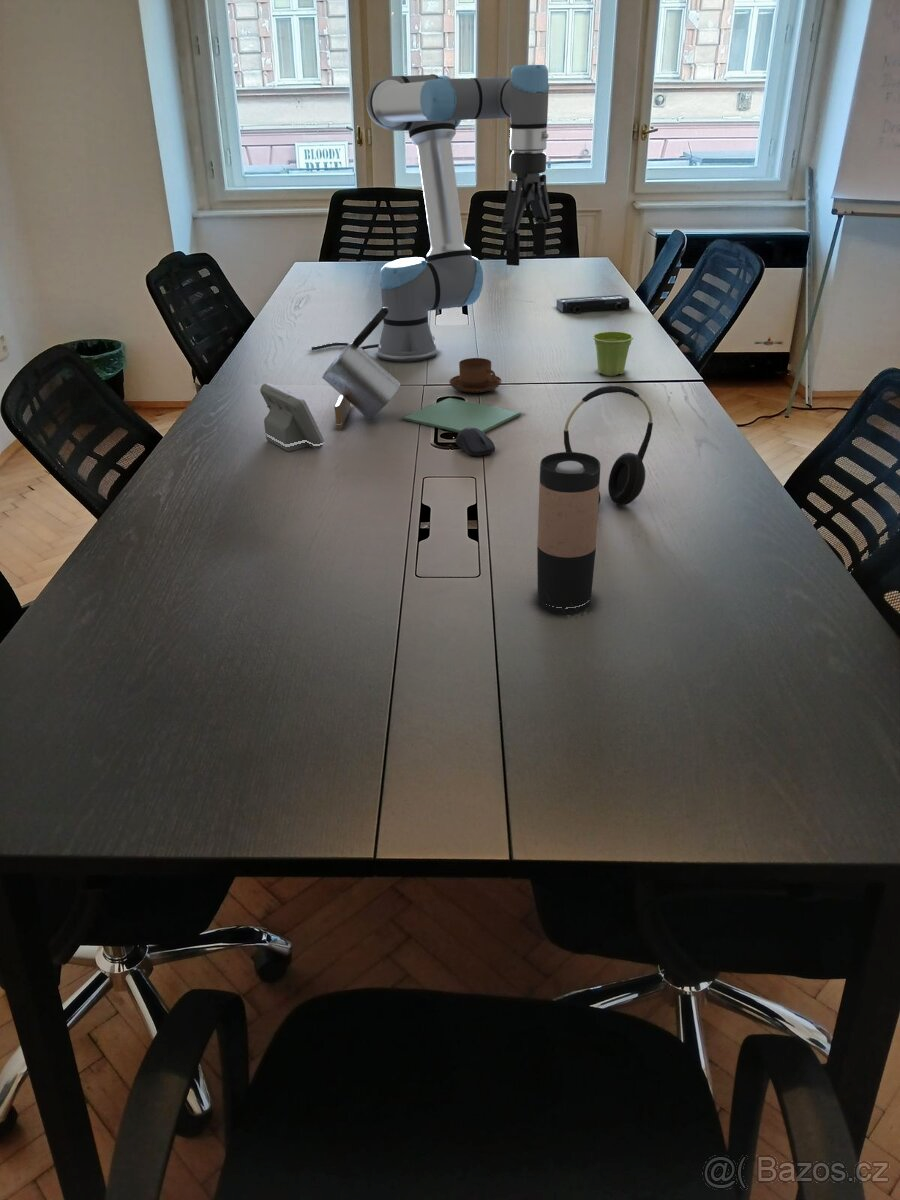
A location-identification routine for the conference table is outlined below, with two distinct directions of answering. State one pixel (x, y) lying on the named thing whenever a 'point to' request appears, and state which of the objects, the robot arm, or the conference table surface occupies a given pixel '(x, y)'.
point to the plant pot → (612, 351)
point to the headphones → (629, 466)
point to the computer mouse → (474, 442)
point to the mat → (461, 415)
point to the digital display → (592, 303)
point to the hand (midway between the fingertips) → (526, 259)
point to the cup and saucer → (475, 376)
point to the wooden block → (341, 411)
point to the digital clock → (289, 419)
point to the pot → (362, 374)
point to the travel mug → (567, 530)
